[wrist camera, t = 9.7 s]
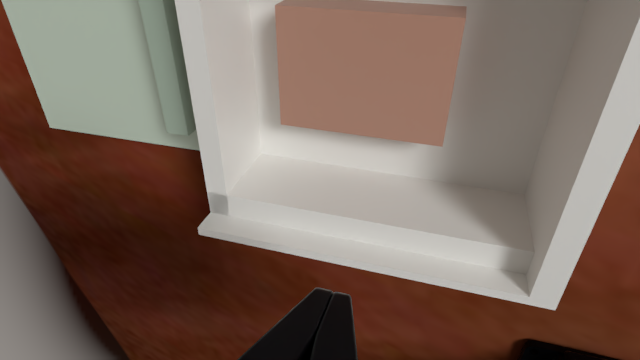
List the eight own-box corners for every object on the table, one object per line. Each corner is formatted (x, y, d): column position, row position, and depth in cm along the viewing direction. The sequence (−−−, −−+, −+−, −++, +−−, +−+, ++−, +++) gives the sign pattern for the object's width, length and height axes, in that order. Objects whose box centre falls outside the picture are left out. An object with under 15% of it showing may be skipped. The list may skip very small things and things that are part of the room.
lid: (250, 150, 25) (224, 179, 22) (59, 122, 28) (18, 144, 26) (223, -112, 18) (181, -114, 15) (-25, -110, 21) (-94, -111, 19)
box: (535, 213, 21) (555, 310, 16) (254, 167, 25) (198, 234, 20) (660, -142, 13) (771, -168, 8) (225, -136, 17) (123, -151, 12)
